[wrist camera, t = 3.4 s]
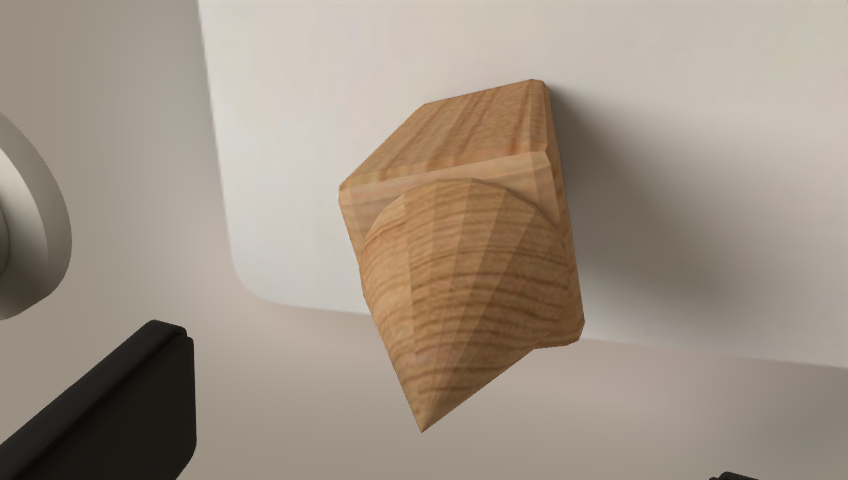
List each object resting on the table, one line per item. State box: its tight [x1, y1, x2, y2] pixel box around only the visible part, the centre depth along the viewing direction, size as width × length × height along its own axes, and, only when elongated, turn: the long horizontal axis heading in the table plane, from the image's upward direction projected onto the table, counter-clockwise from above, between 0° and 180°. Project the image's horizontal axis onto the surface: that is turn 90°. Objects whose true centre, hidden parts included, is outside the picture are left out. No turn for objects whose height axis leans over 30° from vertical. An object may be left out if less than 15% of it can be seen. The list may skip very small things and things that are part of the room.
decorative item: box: [339, 79, 585, 433], centre depth 19 cm, size 7×7×20 cm
